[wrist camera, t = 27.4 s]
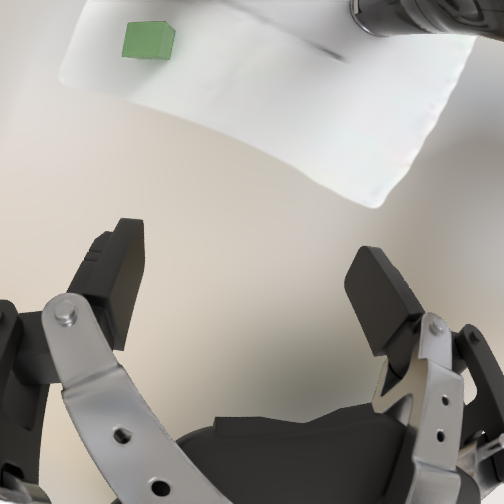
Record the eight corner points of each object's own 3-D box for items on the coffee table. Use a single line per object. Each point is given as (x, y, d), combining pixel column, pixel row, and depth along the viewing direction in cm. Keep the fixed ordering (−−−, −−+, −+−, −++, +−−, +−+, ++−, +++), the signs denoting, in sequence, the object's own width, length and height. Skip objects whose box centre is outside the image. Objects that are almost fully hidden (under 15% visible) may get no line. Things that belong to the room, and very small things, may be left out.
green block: (175, 30, 29) (165, 21, 23) (169, 59, 32) (158, 56, 26) (144, 30, 28) (127, 22, 22) (138, 59, 31) (121, 56, 25)
